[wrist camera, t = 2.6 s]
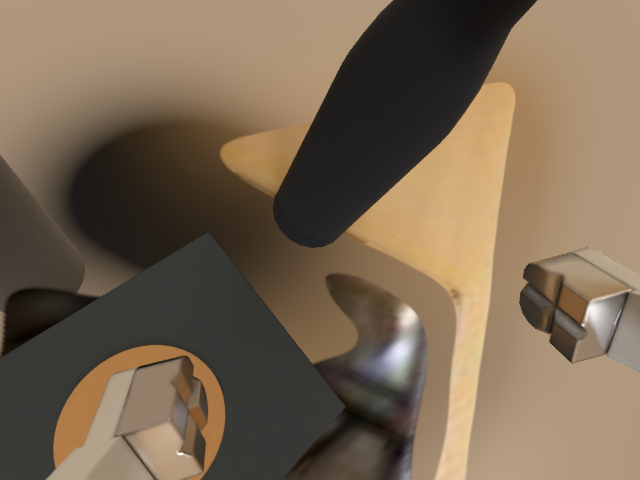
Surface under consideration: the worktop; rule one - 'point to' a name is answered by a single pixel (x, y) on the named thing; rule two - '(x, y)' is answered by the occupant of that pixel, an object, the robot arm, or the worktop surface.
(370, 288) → the worktop surface
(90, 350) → the centre mat
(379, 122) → the wine bottle
